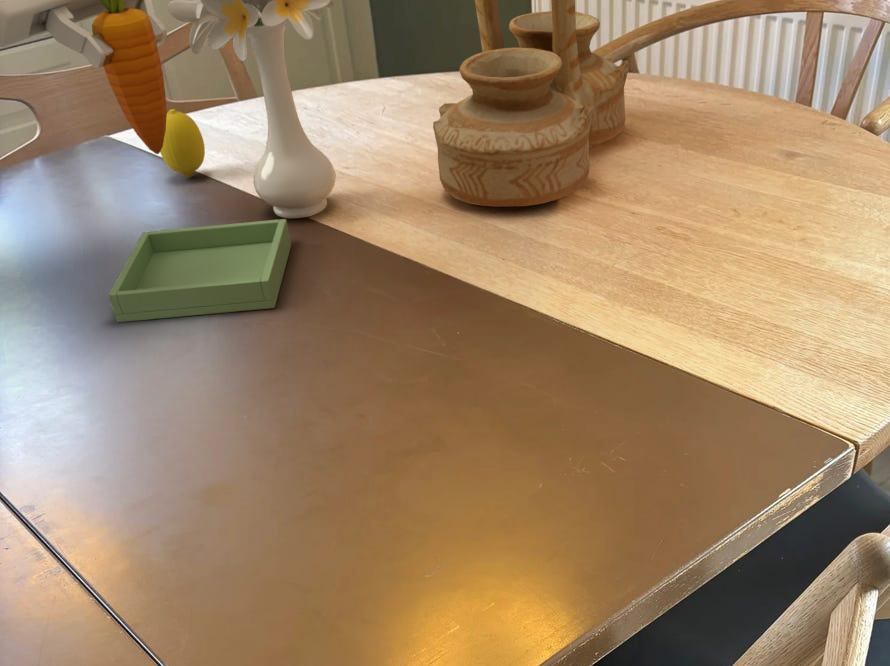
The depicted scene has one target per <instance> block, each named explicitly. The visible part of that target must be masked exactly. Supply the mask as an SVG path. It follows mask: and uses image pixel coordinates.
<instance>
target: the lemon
mask: <svg viewBox="0 0 890 666" xmlns="http://www.w3.org/2000/svg"><path fill="white" fill-rule="evenodd" d="M205 153H206V149H205V142H204V138H203V135H202V132H201V130H200V128H199V126H198V125H197V123H196V122H195V121H194V119H193V118H192V117H190V115H189V114H186V113H184V112H183V111H182V112H181V111H178V110H176V109H175V108H170V109H169V110H168V111H167V117H166V131H165V136H164V142H163V147H162V149H161V151H160V153H159V154H160V155H161V157H162V159H163V161H164V163H165V164H166V165H167V166H168V167H169V168H170V169H171V170H172V171H174V172H176V173H179V174H183V175H184V176H185V177H186V178H193V176H194V174H195V172H196V171H197V170H199V169H200V167H201V166H202V164H204V161H205Z"/></svg>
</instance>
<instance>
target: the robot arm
mask: <svg viewBox="0 0 890 666" xmlns="http://www.w3.org/2000/svg"><path fill="white" fill-rule="evenodd" d="M124 7H129V8H135V9H139V10H141V11H143V12H144V13H145V14H147V15H148V17H149V19H150V21H151V24H152V27H153V31H154V36H155V40H156V44H157V47H159V46H161V45H164V43H165V41H166V38H167V36H168V31H167V29H166V27H165V25H164V24H163V23H162V22H161V21H160V20H159V18H158V17H157V16H156V15H155V14H156V13H155V8H154V4H153V0H124ZM104 11H107V9H106V8H105V6H104V5H103V4H102V2H101V1H100V0H0V48H4V47H5V48H6V47H8V46H11V45H14V44H17V43H20V42H23V41H26V40H29V39H31V38H34V37H37V36H41V35H44V34H46V33H48V34H50V36H51V37H52V38H53V39H54V40H55V41H56V42H57V43H59V44H61V45H63V46H65V47H67V48H69V49H71V50H73V51H74V52H77V53H78V54H82V56H83V57H84V58H85V59H86V61H88V62H89V64H90V65H91V66H92V67H93V68H94V69H96V70H97V69H100V68H103V67H104V66H105V65H108V64H110V63H111V61H112V60H111V59H112V57H113V55H114V51H113V49H112V47H111V46H110V44H108V43H106V40H105V39H104V37H103V36H102V35H101V34H100V33H99V34H95V35H93V33H90V32H88V30H86V29H84V28H83V27H81V26H80V25H78V24H77V23H80V22H83V21H86V20H89V19H92V18H96V17H98V16H99V15H100V14H101V13H102V12H104Z"/></svg>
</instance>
